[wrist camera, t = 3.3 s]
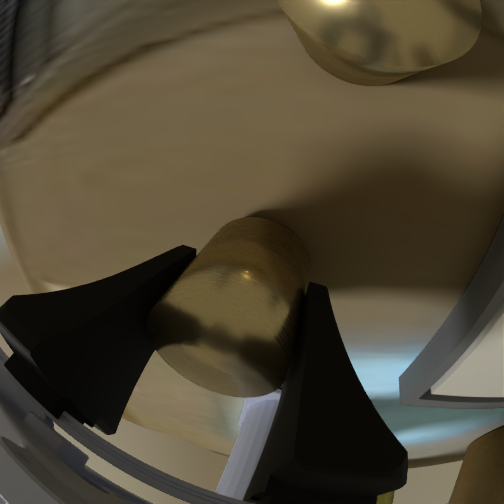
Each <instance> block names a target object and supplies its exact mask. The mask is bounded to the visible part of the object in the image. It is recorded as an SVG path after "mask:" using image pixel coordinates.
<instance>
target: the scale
mask: <svg viewBox="0 0 504 504" xmlns="http://www.w3.org/2000/svg"><path fill="white" fill-rule="evenodd" d="M503 301H504V216H503V219H502V221H501V223H500V226H499V228H498V230H497V233H496V235H495V237H494V239H493V241H492V243H491V245H490V247H489V249H488V251H487V253H486V255H485V257H484V259H483V261H482V263H481V265H480V267H479V269H478V270H477V272H476V274H475V276H474V277H473V279H472V281H471V283H470V284H469V286H468V288H467V289H466V291H465V292H464V294H463V296H462V297H461V299H460V300H459V302H458V303H457V305H456V306H455V308H454V309H453V311H452V312H451V314H450V315H449V317H448V318H447V319H446V321H445V322H444V324H443V325H442V326H441V328H440V329H439V330H438V332H437V333H436V334H435V336H434V337H433V338H432V340H431V341H430V342H429V343H428V345H427V346H426V347H425V348H424V350H423V351H422V352H421V353H420V354H419V356H418V357H417V358H416V359H415V360H414V362H413V363H412V364H411V365H410V366H409V367H408V368H407V369H406V371H405V372H404V373H403V374H402V375H401V376H400V377H399V388H400V404H402V405H411V406H422V407H435V408H458V409H486V408H504V397H466V396H450V395H438V394H431V387H432V386H433V385H434V384H435V383H436V382H437V381H438V380H439V379H440V378H441V377H442V376H443V375H444V374H445V373H446V372H447V371H448V370H449V369H450V368H451V367H452V366H453V365H454V364H455V362H456V361H457V360H458V359H459V358H460V357H461V356H462V355H463V354H464V352H465V351H466V350H467V349H468V348H469V347H470V345H471V344H472V343H473V342H474V341H475V339H476V338H477V337H478V336H479V334H480V333H481V332H482V331H483V329H484V328H485V327H486V325H487V324H488V323H489V321H490V320H491V319H492V317H493V316H494V314H495V313H496V311H497V310H498V309H499V307H500V306H501V304H502V303H503Z"/></svg>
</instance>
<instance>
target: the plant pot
mask: <svg viewBox="0 0 504 504" xmlns="http://www.w3.org/2000/svg"><path fill="white" fill-rule="evenodd" d="M449 504H504V426H503V427H501V428H498V429H496V430H494V431H491V432H489V433H487V434H485V435H484V436H482V437H480V438H478V439H477V440H475V441H474V442H472V443H471V444H470V445H469V446H468V448H467V451H466V454H465V457H464V460H463V463H462V466H461V469H460V472H459V475H458V478H457V480H456V483H455V486H454V489H453V492H452V495H451V498H450V500H449Z"/></svg>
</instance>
